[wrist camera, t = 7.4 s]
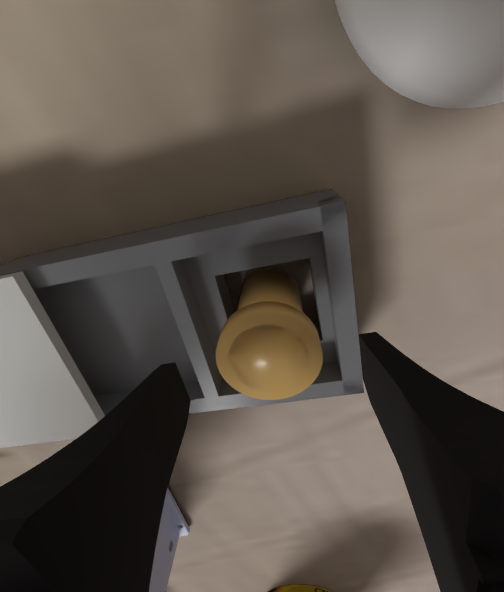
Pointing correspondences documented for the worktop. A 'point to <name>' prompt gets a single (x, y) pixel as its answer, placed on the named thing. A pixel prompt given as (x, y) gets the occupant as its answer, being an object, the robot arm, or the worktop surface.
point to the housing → (195, 298)
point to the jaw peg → (269, 340)
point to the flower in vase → (431, 48)
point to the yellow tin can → (299, 589)
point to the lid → (37, 374)
